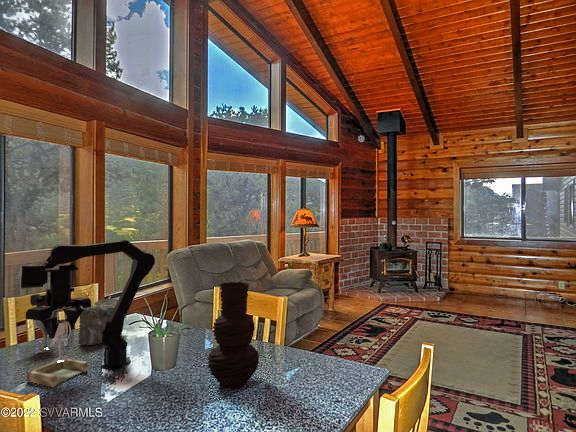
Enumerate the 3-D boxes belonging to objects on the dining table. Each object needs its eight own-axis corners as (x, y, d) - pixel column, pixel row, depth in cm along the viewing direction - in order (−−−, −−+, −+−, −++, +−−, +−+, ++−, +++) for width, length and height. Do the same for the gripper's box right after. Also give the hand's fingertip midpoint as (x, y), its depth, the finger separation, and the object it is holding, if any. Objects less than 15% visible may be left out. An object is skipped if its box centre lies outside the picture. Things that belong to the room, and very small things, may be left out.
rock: (107, 294, 168) (125, 291, 165) (115, 330, 169) (134, 328, 166) (67, 310, 148) (87, 307, 145) (77, 352, 149) (98, 350, 146)
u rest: (87, 371, 124) (87, 362, 124) (52, 387, 112) (53, 377, 112) (63, 367, 127) (63, 357, 127) (27, 382, 116) (27, 372, 116)
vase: (268, 380, 119) (269, 282, 119) (237, 400, 106) (239, 290, 106) (229, 369, 127) (230, 278, 127) (196, 387, 114) (197, 285, 114)
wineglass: (74, 357, 123) (75, 319, 123) (62, 364, 117) (62, 324, 117) (57, 356, 123) (58, 318, 123) (44, 363, 117) (45, 323, 117)
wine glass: (49, 352, 140) (49, 311, 140) (27, 352, 140) (28, 311, 141) (62, 345, 148) (63, 306, 148) (42, 345, 148) (42, 306, 148)
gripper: (66, 279, 131) (66, 325, 131) (12, 288, 114) (11, 342, 114) (92, 281, 128) (92, 328, 128) (40, 291, 110) (39, 346, 110)
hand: (60, 335), depth 120 cm, fingers closed on wineglass, 6 cm apart
